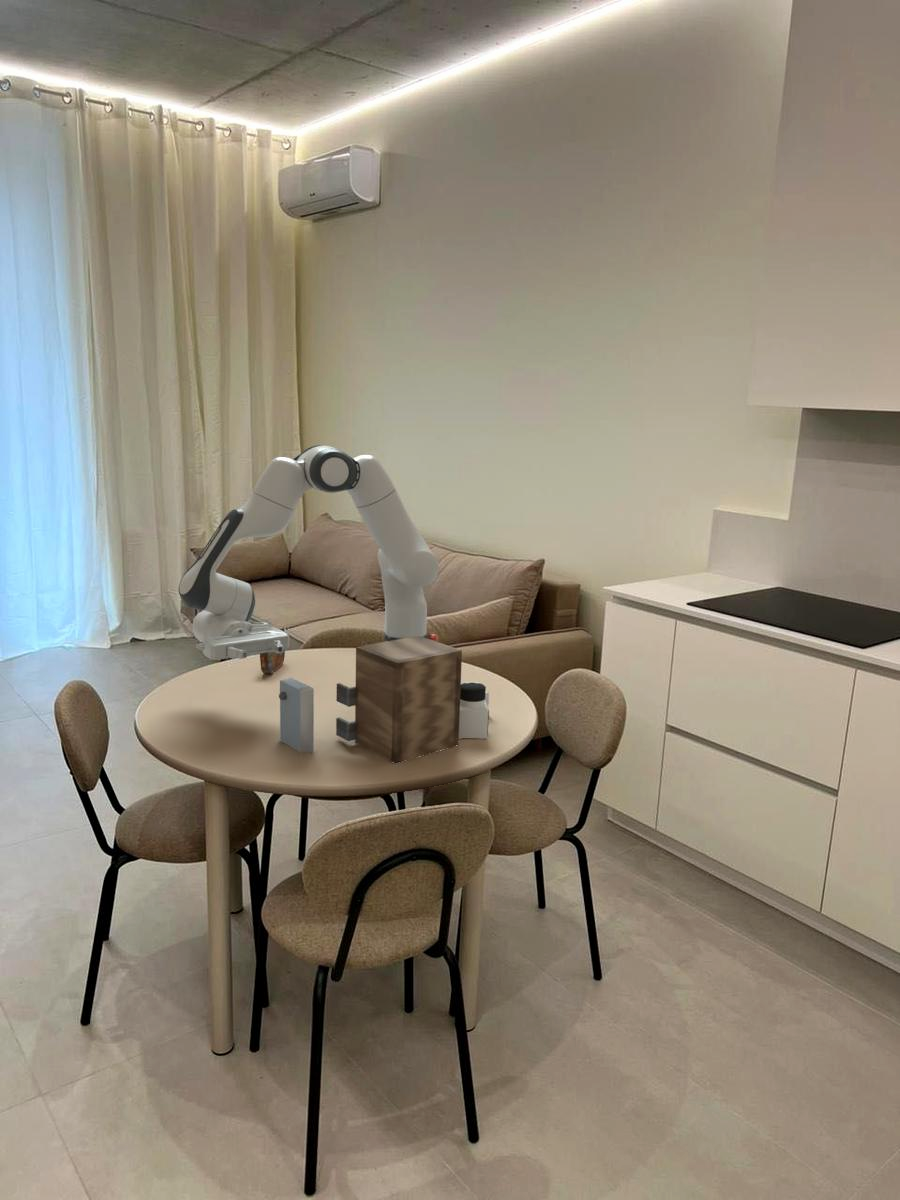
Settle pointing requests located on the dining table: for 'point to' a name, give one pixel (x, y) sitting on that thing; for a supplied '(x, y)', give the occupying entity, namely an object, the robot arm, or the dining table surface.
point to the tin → (271, 661)
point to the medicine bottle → (473, 711)
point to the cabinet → (404, 698)
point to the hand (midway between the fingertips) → (262, 652)
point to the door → (297, 715)
